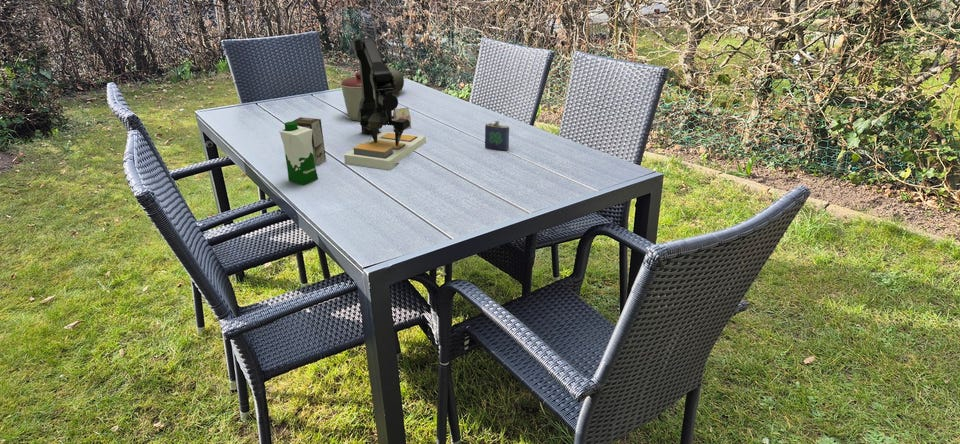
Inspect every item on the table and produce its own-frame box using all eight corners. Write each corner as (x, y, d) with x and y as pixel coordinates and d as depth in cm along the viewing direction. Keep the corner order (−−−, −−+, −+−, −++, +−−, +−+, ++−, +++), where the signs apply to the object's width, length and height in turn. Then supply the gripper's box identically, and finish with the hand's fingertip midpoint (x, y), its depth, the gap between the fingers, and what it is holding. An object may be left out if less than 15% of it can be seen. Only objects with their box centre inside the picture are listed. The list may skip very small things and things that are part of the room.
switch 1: (354, 154, 214) (353, 147, 212) (362, 149, 218) (361, 142, 217) (385, 158, 209) (384, 151, 208) (392, 153, 214) (392, 146, 213)
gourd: (348, 94, 295) (350, 59, 290) (365, 91, 319) (367, 58, 314) (394, 101, 293) (397, 66, 287) (408, 97, 316) (411, 65, 311)
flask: (509, 149, 228) (510, 121, 223) (507, 151, 225) (507, 123, 220) (486, 146, 231) (486, 118, 226) (483, 148, 229) (483, 120, 223)
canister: (391, 116, 270) (387, 70, 260) (364, 126, 256) (360, 78, 246) (362, 110, 278) (358, 66, 269) (335, 119, 265) (329, 73, 255)
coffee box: (327, 160, 217) (321, 118, 210) (317, 166, 212) (311, 123, 204) (306, 157, 220) (300, 116, 212) (296, 163, 214) (289, 121, 207)
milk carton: (304, 173, 205) (295, 118, 196) (322, 178, 201) (314, 122, 192) (284, 181, 198) (275, 125, 190) (303, 187, 194) (294, 129, 185)
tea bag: (393, 131, 249) (391, 108, 245) (407, 128, 253) (406, 106, 248) (397, 133, 247) (395, 110, 242) (411, 130, 250) (410, 108, 245)
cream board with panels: (335, 162, 215) (334, 153, 214) (376, 138, 240) (375, 130, 239) (390, 169, 208) (389, 161, 207) (426, 144, 233) (425, 136, 232)
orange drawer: (368, 150, 223) (367, 144, 222) (376, 146, 228) (375, 139, 226) (398, 154, 219) (397, 148, 217) (405, 150, 223) (405, 143, 222)
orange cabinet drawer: (381, 143, 231) (380, 136, 230) (388, 139, 236) (387, 132, 235) (410, 147, 227) (410, 140, 226) (416, 142, 232) (416, 136, 231)
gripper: (350, 107, 211) (354, 147, 218) (395, 112, 205) (398, 153, 212) (365, 99, 220) (369, 138, 227) (409, 104, 215) (411, 144, 222)
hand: (386, 143), depth 222 cm, fingers open, 9 cm apart
